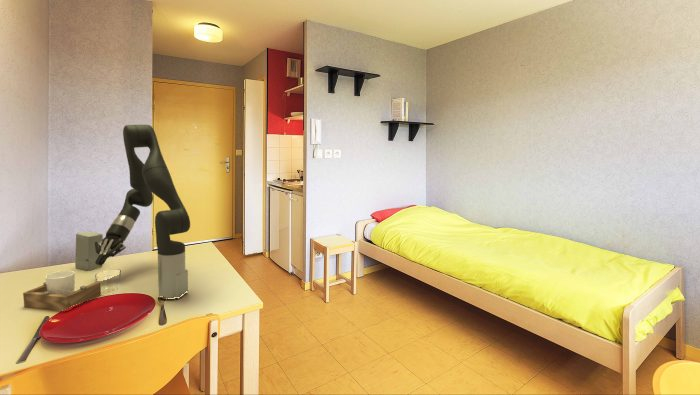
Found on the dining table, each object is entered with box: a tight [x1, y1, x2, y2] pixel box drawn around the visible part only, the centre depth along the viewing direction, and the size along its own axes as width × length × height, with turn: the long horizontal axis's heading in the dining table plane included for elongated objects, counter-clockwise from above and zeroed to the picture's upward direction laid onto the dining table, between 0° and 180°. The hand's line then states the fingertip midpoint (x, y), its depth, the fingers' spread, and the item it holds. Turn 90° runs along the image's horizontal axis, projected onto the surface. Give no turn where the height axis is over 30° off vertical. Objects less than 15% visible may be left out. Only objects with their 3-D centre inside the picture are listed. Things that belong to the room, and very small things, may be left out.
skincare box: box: [74, 231, 104, 271], centre depth 152 cm, size 8×7×16 cm
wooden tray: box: [22, 281, 102, 312], centre depth 121 cm, size 16×14×6 cm
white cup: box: [45, 270, 76, 295], centre depth 120 cm, size 8×8×10 cm
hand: (98, 264), depth 134 cm, fingers closed
